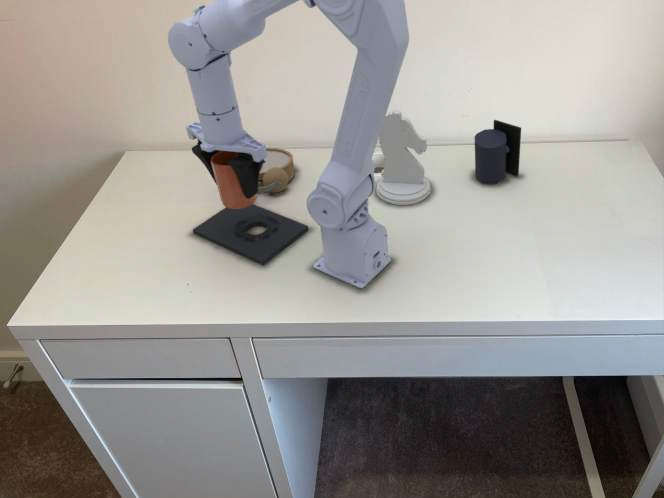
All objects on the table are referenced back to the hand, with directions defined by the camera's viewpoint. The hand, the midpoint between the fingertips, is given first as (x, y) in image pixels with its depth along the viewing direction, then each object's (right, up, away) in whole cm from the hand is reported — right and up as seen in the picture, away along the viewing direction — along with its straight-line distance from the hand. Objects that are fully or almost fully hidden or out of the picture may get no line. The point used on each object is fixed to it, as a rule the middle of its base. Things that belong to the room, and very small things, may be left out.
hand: (237, 189), depth 90 cm
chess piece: (+27, +2, +14) cm, 30 cm away
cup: (0, -1, +1) cm, 2 cm away
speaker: (+43, +5, +16) cm, 46 cm away
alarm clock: (+1, +4, +18) cm, 19 cm away
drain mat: (+1, -6, +6) cm, 9 cm away
